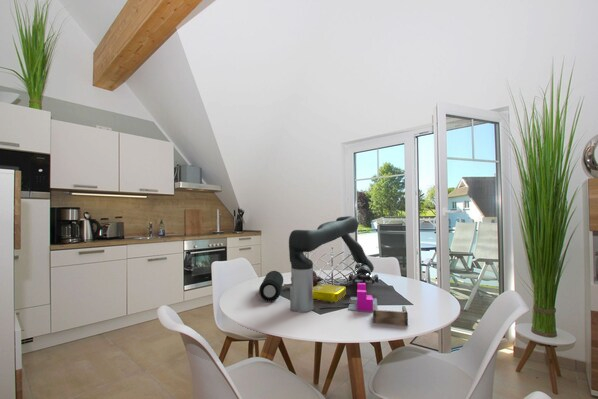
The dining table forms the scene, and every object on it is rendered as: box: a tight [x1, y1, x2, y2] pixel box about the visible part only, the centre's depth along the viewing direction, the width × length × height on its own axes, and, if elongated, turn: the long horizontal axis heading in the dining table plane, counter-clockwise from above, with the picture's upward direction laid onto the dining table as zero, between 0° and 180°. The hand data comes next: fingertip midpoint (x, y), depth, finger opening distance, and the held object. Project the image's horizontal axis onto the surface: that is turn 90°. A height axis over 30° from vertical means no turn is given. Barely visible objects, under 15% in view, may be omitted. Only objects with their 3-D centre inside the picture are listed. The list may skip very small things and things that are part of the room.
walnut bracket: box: [372, 304, 409, 326], centre depth 110 cm, size 12×8×4 cm, turn 77°
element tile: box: [313, 283, 347, 303], centre depth 141 cm, size 15×15×5 cm
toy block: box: [356, 282, 374, 312], centre depth 127 cm, size 15×6×8 cm, turn 168°
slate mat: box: [347, 296, 379, 313], centre depth 129 cm, size 12×18×1 cm, turn 167°
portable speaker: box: [258, 270, 284, 302], centre depth 145 cm, size 26×10×10 cm, turn 179°
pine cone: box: [313, 270, 324, 287], centre depth 158 cm, size 18×10×10 cm, turn 83°
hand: (363, 281), depth 139 cm, fingers open, 8 cm apart
